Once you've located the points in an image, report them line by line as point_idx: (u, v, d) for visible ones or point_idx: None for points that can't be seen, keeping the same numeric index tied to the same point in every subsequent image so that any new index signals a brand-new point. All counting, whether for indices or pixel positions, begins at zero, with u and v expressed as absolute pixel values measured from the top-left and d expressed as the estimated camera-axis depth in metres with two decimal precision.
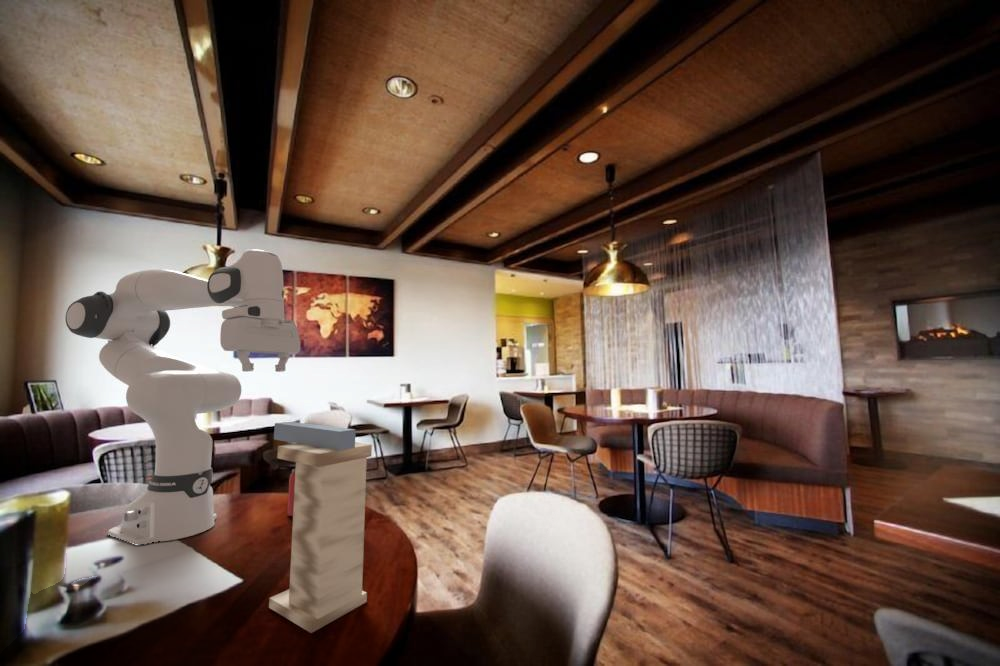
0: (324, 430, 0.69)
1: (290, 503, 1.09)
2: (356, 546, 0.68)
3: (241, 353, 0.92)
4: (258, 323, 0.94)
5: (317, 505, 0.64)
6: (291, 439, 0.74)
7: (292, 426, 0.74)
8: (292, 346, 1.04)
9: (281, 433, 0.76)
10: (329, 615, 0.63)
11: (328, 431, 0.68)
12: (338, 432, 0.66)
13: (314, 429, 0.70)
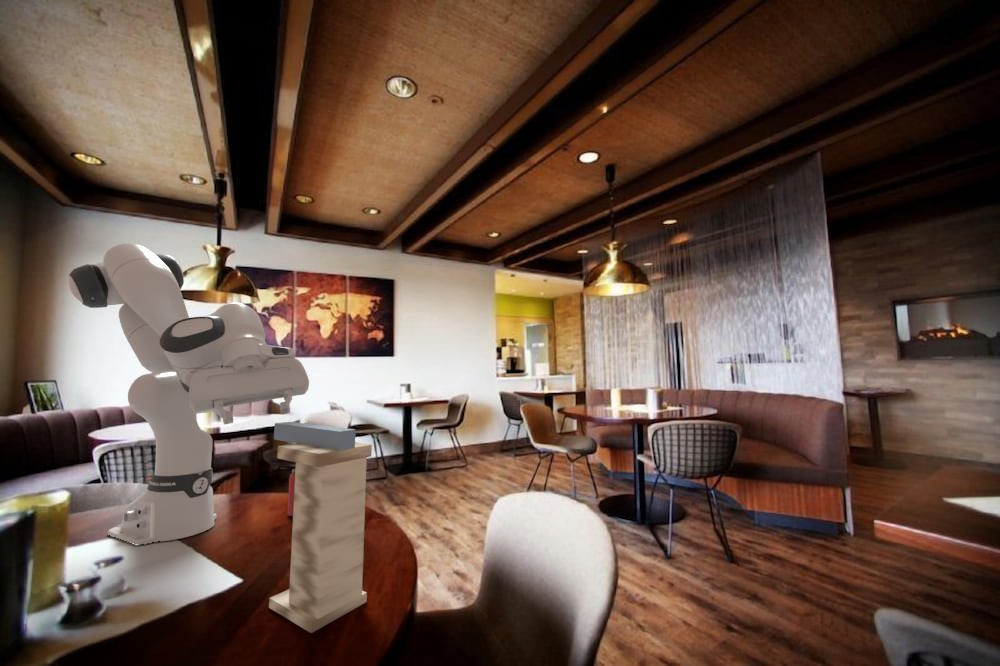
0: (324, 430, 0.69)
1: (290, 503, 1.09)
2: (356, 546, 0.68)
3: (291, 395, 0.83)
4: None
5: (317, 505, 0.64)
6: (291, 439, 0.74)
7: (292, 426, 0.74)
8: None
9: (281, 433, 0.76)
10: (329, 615, 0.63)
11: (328, 431, 0.68)
12: (338, 432, 0.66)
13: (314, 429, 0.70)
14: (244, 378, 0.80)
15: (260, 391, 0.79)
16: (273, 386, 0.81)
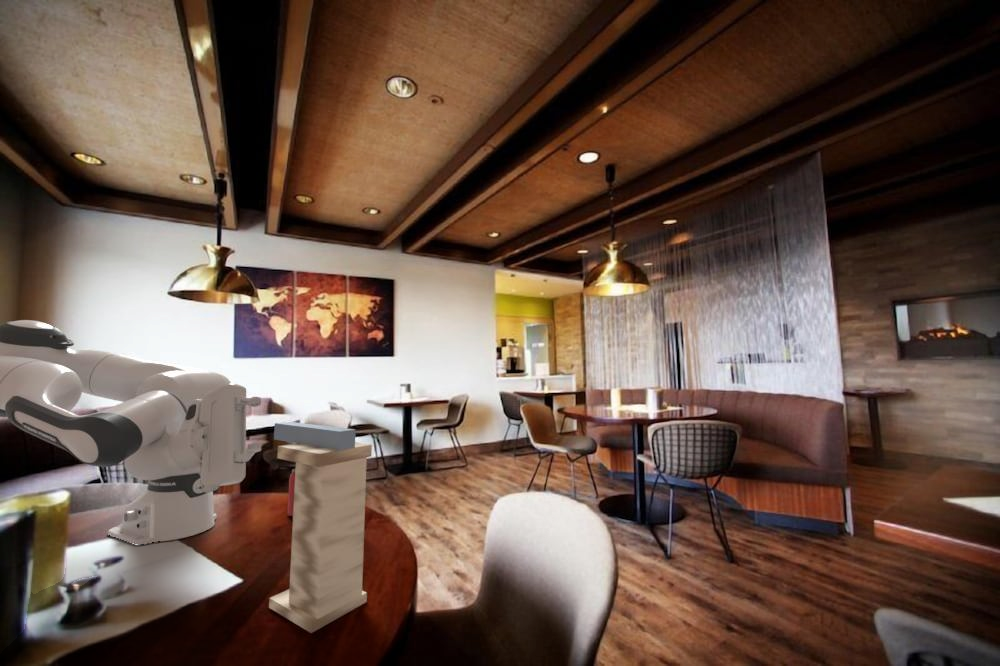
0: (324, 430, 0.69)
1: (290, 503, 1.09)
2: (356, 546, 0.68)
3: None
4: None
5: (317, 505, 0.64)
6: (291, 439, 0.74)
7: (292, 426, 0.74)
8: None
9: (281, 433, 0.76)
10: (329, 615, 0.63)
11: (328, 431, 0.68)
12: (338, 432, 0.66)
13: (314, 429, 0.70)
14: (216, 440, 0.81)
15: (232, 423, 0.81)
16: (229, 413, 0.82)
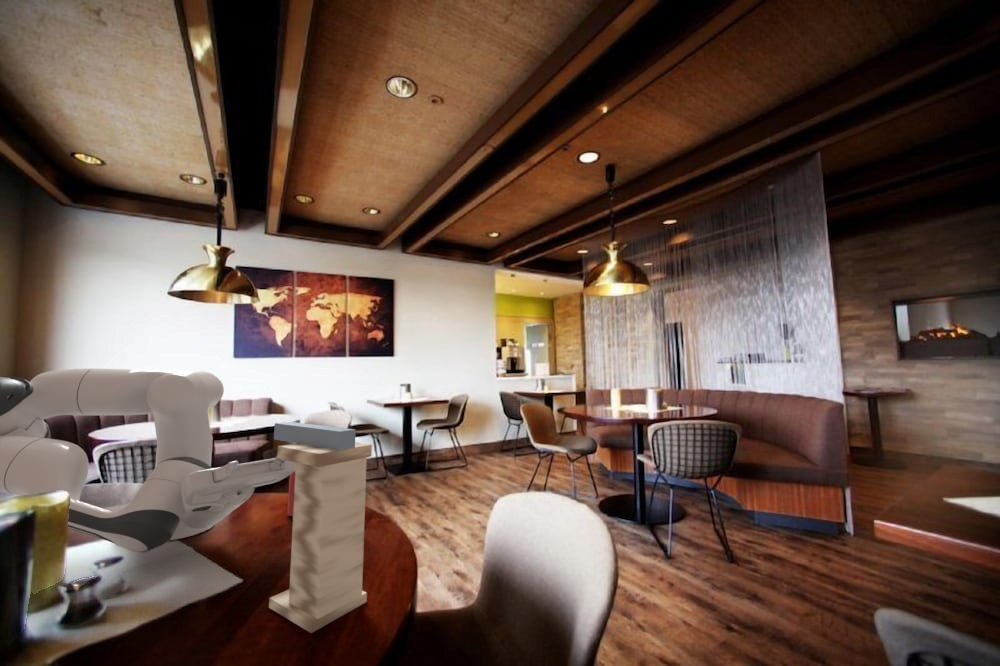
0: (324, 430, 0.69)
1: (290, 503, 1.09)
2: (356, 546, 0.68)
3: (215, 473, 0.78)
4: None
5: (317, 505, 0.64)
6: (291, 439, 0.74)
7: (292, 426, 0.74)
8: None
9: (281, 433, 0.76)
10: (329, 615, 0.63)
11: (328, 431, 0.68)
12: (338, 432, 0.66)
13: (314, 429, 0.70)
14: (249, 483, 0.85)
15: (245, 478, 0.82)
16: (231, 483, 0.80)
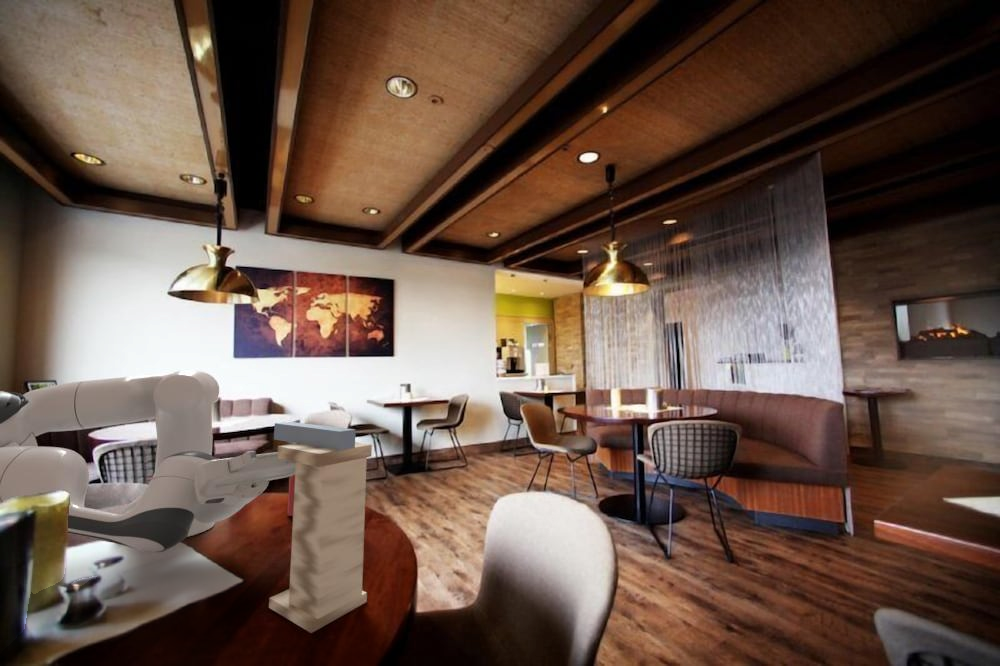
0: (324, 430, 0.69)
1: (290, 503, 1.09)
2: (356, 546, 0.68)
3: (231, 463, 0.74)
4: None
5: (317, 505, 0.64)
6: (291, 439, 0.74)
7: (292, 426, 0.74)
8: None
9: (281, 433, 0.76)
10: (329, 615, 0.63)
11: (328, 431, 0.68)
12: (338, 432, 0.66)
13: (314, 429, 0.70)
14: (264, 476, 0.82)
15: (261, 469, 0.79)
16: (247, 474, 0.77)
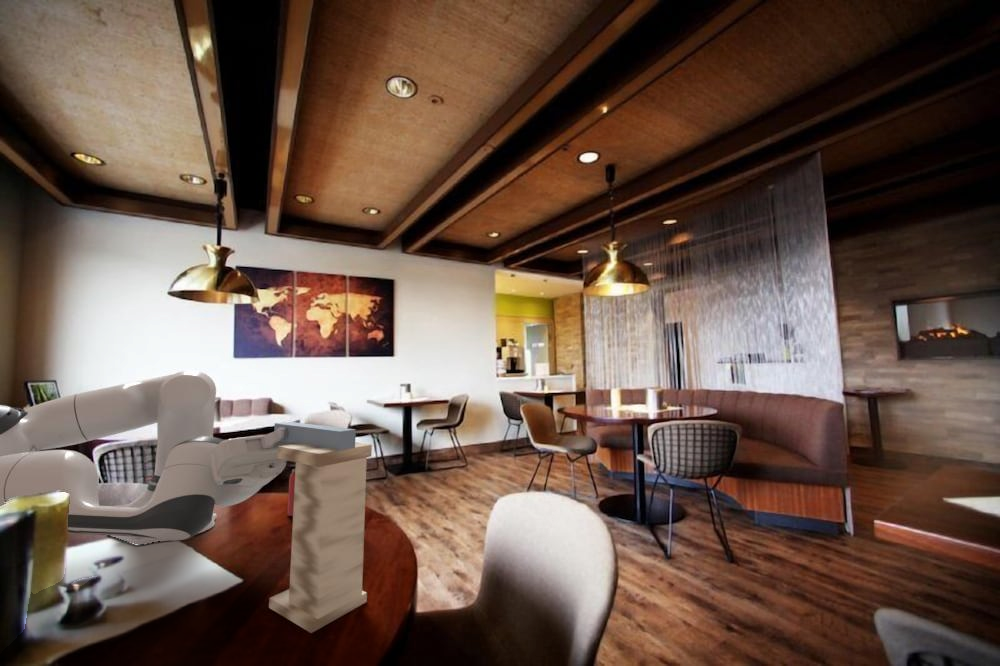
0: (324, 430, 0.69)
1: (290, 503, 1.09)
2: (356, 546, 0.68)
3: (263, 440, 0.74)
4: None
5: (317, 505, 0.64)
6: (291, 439, 0.74)
7: (292, 426, 0.74)
8: None
9: None
10: (329, 615, 0.63)
11: (328, 431, 0.68)
12: (338, 432, 0.66)
13: (314, 429, 0.70)
14: None
15: None
16: (265, 454, 0.75)
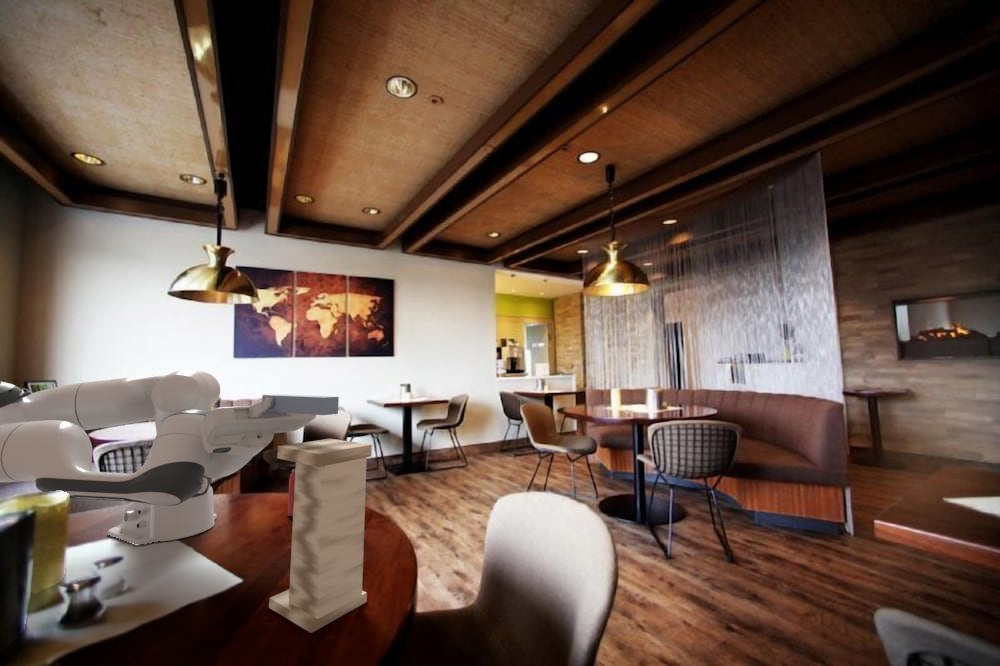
0: (309, 397, 0.72)
1: (290, 503, 1.09)
2: (356, 546, 0.68)
3: (251, 410, 0.78)
4: None
5: (317, 505, 0.64)
6: (278, 408, 0.77)
7: (279, 396, 0.78)
8: None
9: None
10: (329, 615, 0.63)
11: (312, 398, 0.72)
12: (322, 398, 0.70)
13: (299, 398, 0.74)
14: (269, 427, 0.83)
15: (267, 419, 0.80)
16: (253, 423, 0.78)
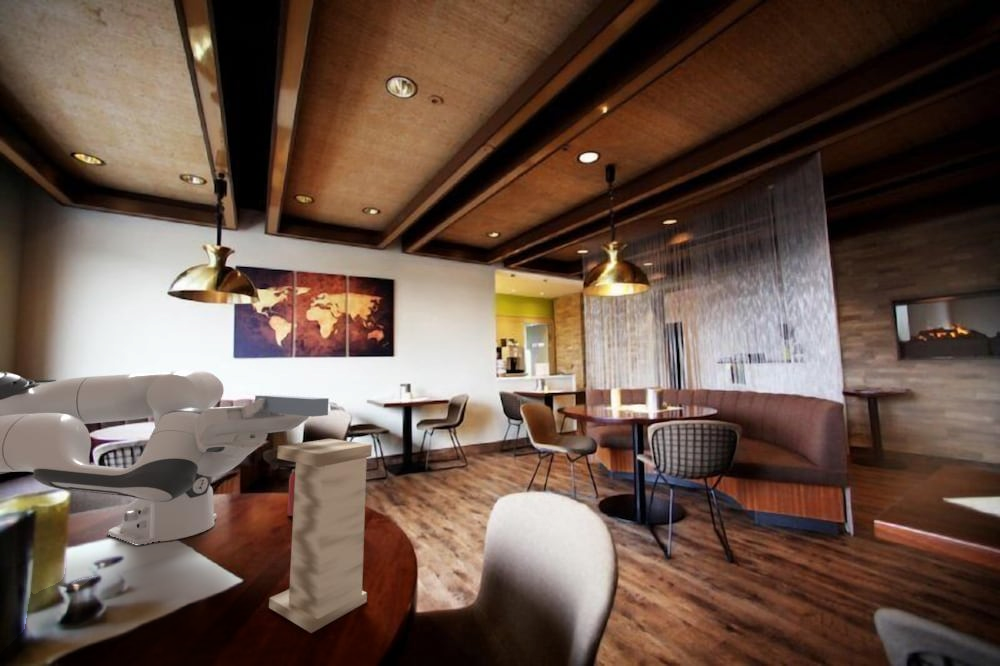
0: (299, 399, 0.73)
1: (290, 503, 1.09)
2: (356, 546, 0.68)
3: (244, 410, 0.79)
4: None
5: (317, 505, 0.64)
6: (270, 409, 0.78)
7: (271, 397, 0.79)
8: None
9: None
10: (329, 615, 0.63)
11: (303, 399, 0.73)
12: (311, 400, 0.71)
13: (290, 399, 0.75)
14: (262, 427, 0.85)
15: (259, 419, 0.81)
16: (246, 423, 0.79)
